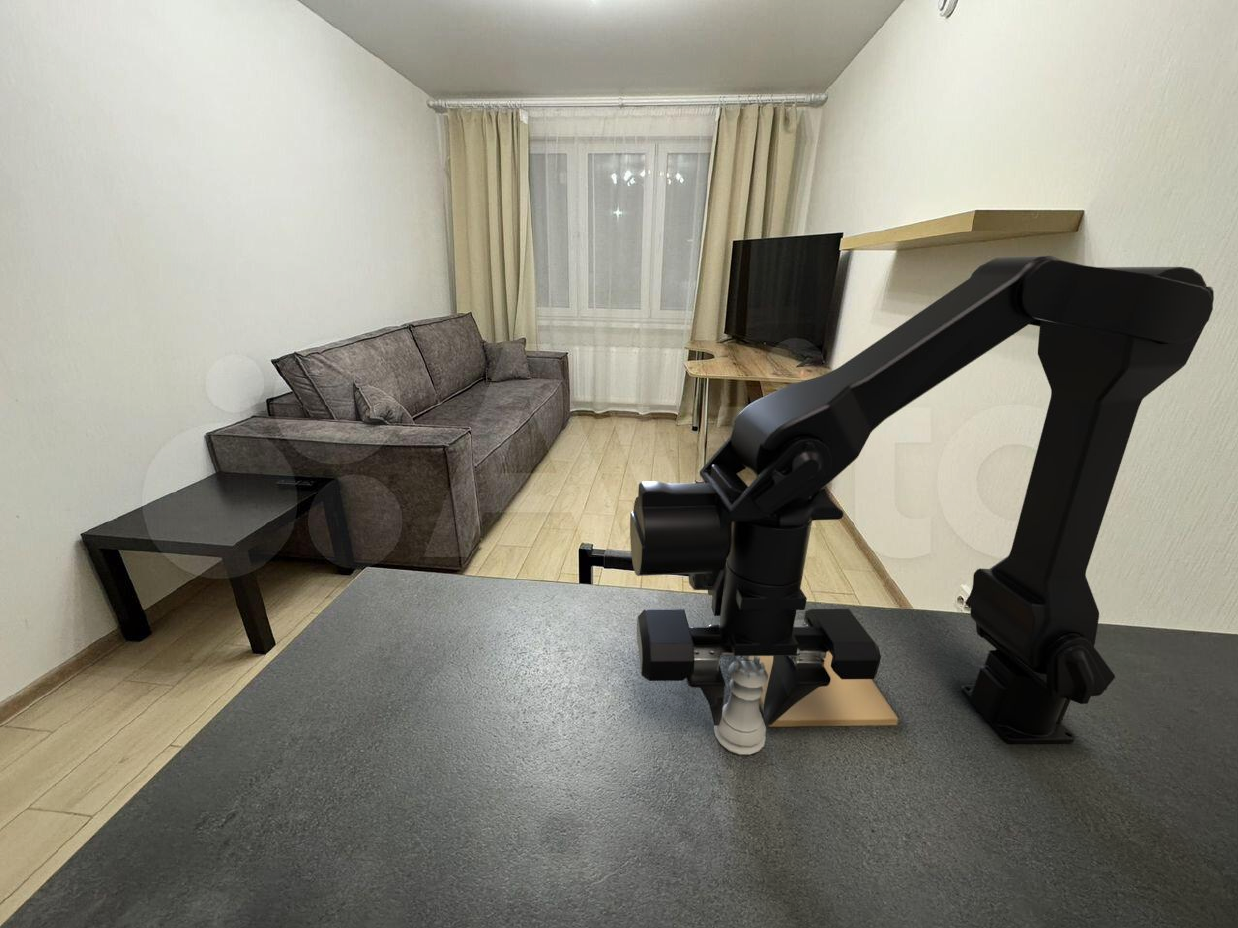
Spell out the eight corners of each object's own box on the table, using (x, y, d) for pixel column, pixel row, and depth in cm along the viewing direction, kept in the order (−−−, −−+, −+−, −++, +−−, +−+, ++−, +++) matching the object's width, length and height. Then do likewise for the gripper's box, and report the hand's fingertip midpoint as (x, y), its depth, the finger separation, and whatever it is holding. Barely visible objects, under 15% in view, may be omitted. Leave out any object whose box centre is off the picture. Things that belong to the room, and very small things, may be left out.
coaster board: (847, 651, 57) (848, 645, 57) (897, 725, 48) (898, 718, 48) (739, 651, 57) (740, 645, 56) (768, 727, 47) (769, 720, 47)
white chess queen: (766, 763, 44) (779, 688, 41) (712, 752, 45) (721, 678, 42) (763, 721, 48) (775, 650, 45) (714, 712, 49) (722, 642, 46)
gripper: (836, 519, 48) (810, 656, 54) (635, 518, 47) (629, 657, 53) (903, 588, 38) (862, 749, 43) (647, 588, 37) (637, 753, 42)
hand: (741, 720), depth 46 cm, fingers closed on white chess queen, 4 cm apart
